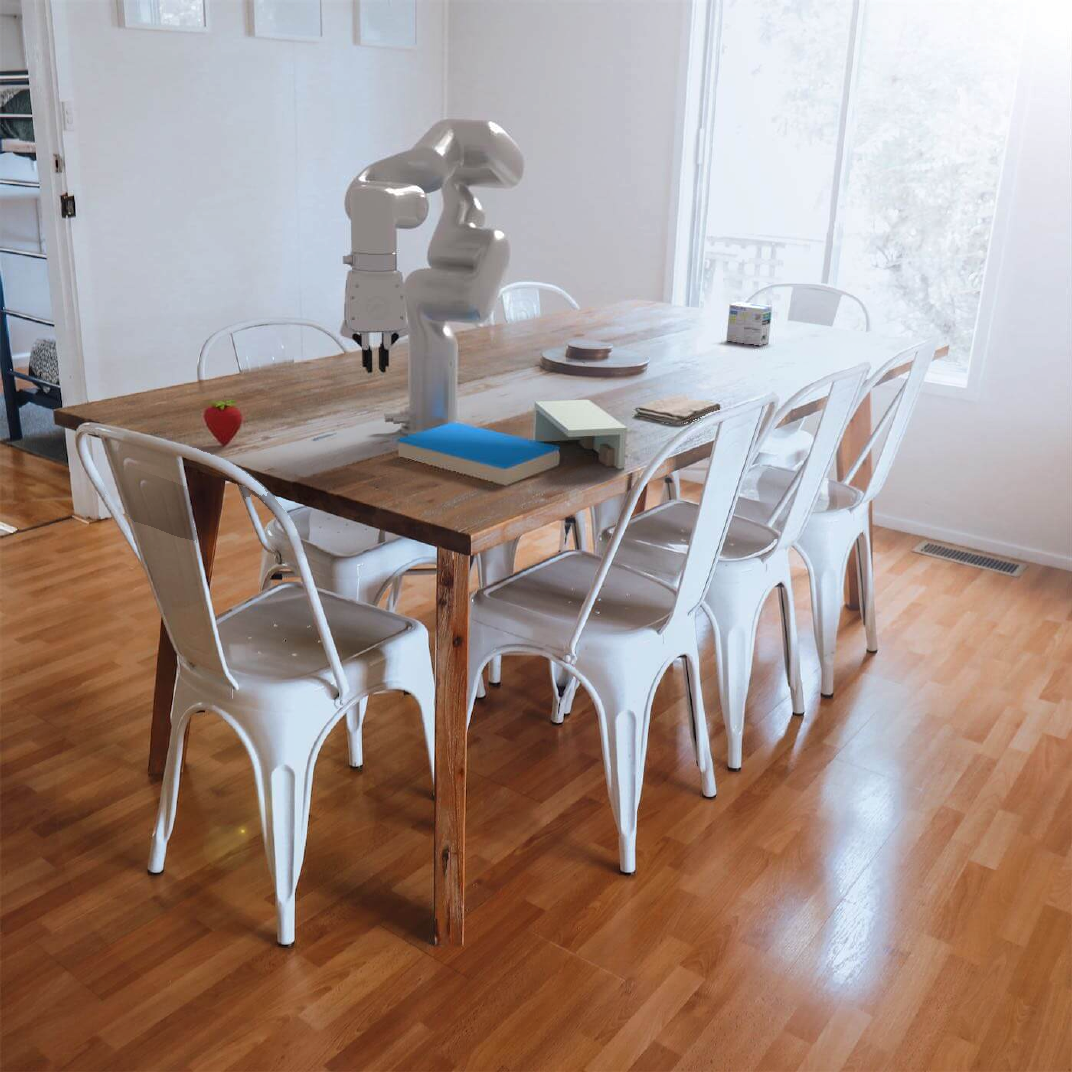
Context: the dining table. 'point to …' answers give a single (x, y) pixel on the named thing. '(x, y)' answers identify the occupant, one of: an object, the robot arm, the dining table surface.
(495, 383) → the dining table surface
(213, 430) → the strawberry
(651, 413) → the washcloth
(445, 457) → the book
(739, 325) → the light bulb box
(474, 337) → the dining table surface
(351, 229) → the robot arm
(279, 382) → the dining table surface
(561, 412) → the shelf
